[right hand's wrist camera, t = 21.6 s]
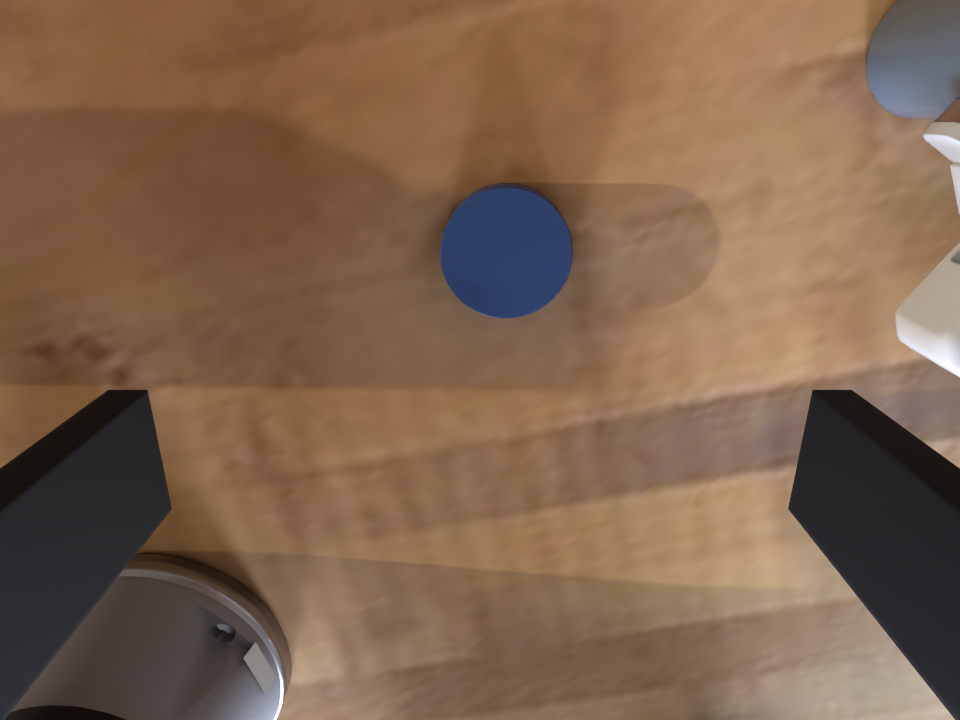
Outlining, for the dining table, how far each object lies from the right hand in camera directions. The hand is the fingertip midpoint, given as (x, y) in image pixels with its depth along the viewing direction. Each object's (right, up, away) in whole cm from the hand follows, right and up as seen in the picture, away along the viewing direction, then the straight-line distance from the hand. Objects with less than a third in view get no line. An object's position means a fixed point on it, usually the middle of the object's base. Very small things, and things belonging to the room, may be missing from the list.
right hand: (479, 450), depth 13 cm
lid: (+1, +7, +16) cm, 17 cm away
